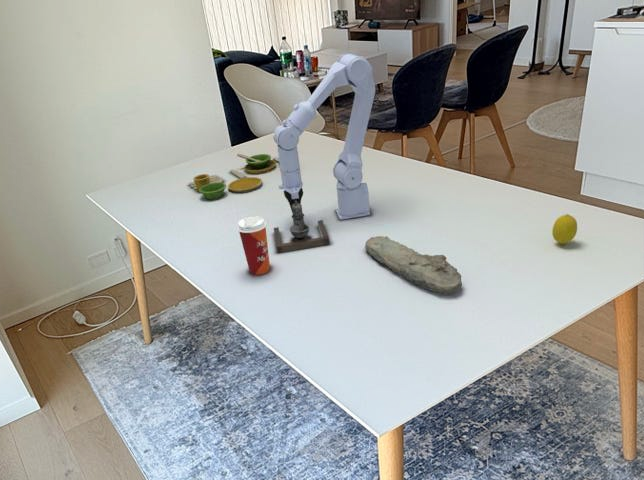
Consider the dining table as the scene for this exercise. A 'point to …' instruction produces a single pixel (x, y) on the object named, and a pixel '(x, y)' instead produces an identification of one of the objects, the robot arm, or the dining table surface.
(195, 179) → the tableware set
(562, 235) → the lemon
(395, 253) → the elongated rock
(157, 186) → the dining table surface
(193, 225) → the dining table surface
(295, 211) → the salt shaker
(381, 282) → the dining table surface
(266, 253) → the paper cup
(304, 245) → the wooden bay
